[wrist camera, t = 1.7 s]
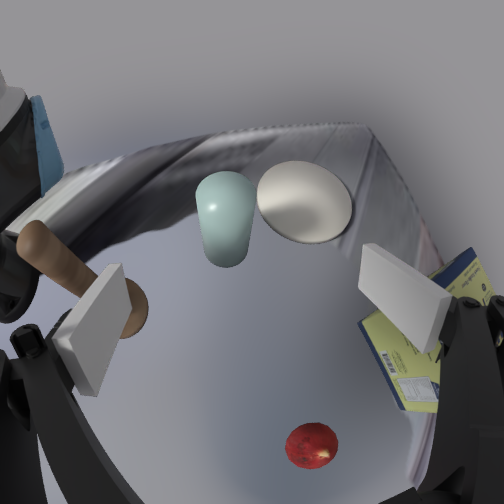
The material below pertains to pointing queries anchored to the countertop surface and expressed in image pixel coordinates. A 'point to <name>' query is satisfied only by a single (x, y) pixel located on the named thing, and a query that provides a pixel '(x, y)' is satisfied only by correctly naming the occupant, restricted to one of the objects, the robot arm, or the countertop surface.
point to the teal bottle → (226, 216)
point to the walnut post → (73, 270)
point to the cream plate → (303, 202)
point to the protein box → (406, 354)
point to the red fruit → (311, 445)
